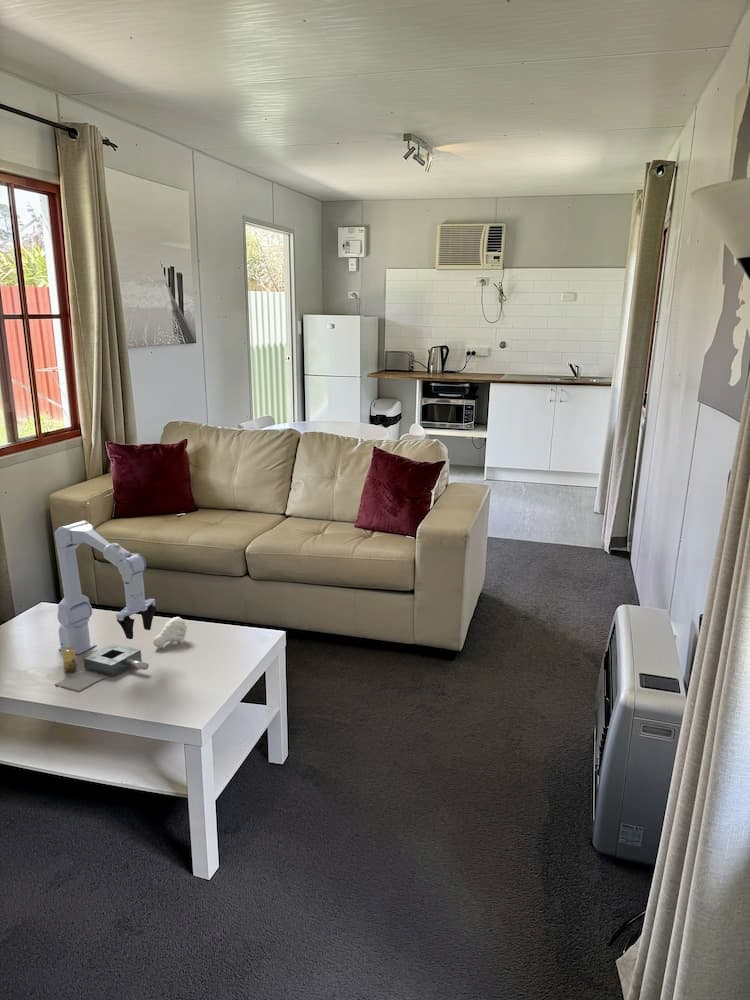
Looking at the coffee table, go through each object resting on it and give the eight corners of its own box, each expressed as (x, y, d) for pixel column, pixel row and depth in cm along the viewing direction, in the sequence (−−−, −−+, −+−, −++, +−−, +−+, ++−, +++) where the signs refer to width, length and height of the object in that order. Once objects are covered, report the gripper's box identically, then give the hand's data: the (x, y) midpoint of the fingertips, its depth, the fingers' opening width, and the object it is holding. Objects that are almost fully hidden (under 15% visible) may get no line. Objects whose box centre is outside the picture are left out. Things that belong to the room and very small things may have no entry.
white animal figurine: (187, 617, 237) (157, 631, 228) (190, 639, 239) (161, 654, 230) (175, 613, 240) (145, 627, 232) (179, 635, 243) (150, 650, 234)
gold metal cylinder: (61, 671, 217) (59, 651, 216) (71, 667, 220) (68, 646, 219) (69, 674, 216) (67, 653, 214) (79, 669, 219) (76, 648, 217)
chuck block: (84, 670, 218) (83, 658, 217) (114, 654, 229) (113, 643, 228) (132, 682, 210) (131, 670, 209) (160, 666, 220) (159, 654, 219)
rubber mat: (55, 685, 209) (55, 684, 208) (82, 671, 217) (82, 670, 217) (79, 692, 204) (79, 690, 204) (105, 677, 213) (105, 676, 213)
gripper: (126, 602, 209) (131, 644, 212) (161, 587, 222) (164, 627, 225) (109, 599, 212) (114, 640, 215) (144, 584, 225) (148, 624, 228)
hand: (138, 633), depth 220 cm, fingers open, 7 cm apart
